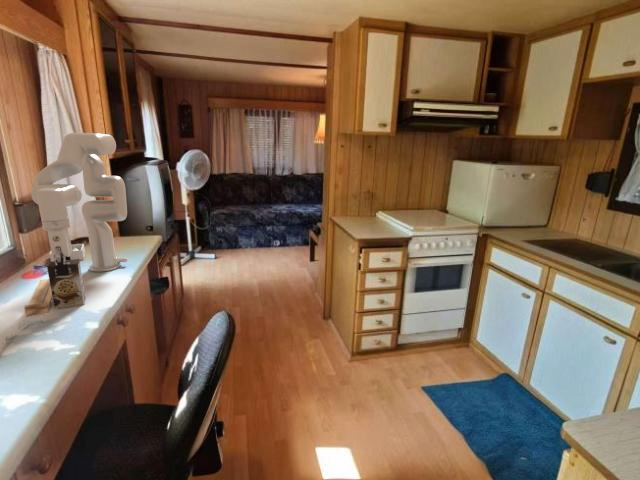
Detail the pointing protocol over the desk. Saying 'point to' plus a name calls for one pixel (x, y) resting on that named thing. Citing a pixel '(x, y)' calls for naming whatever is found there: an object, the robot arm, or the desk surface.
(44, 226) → the robot arm
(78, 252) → the parts corral
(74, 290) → the coffee box
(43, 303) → the oak board
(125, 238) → the desk surface
